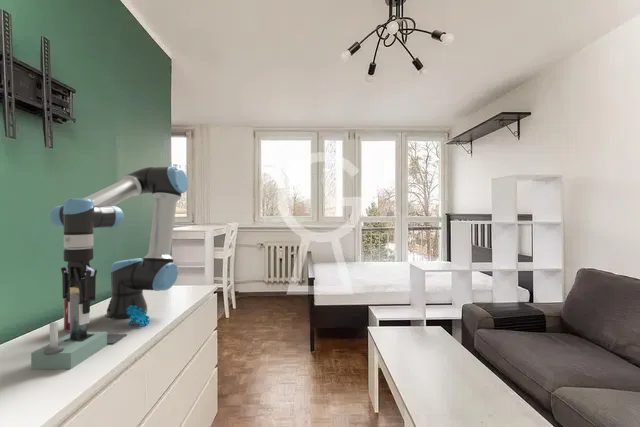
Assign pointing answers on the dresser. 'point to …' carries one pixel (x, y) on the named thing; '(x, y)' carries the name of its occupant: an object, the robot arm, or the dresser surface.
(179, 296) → the dresser surface
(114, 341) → the mat
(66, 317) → the soda can
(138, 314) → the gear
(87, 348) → the fixture block
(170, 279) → the robot arm
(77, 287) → the silver tall can
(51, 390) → the dresser surface
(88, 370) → the dresser surface
